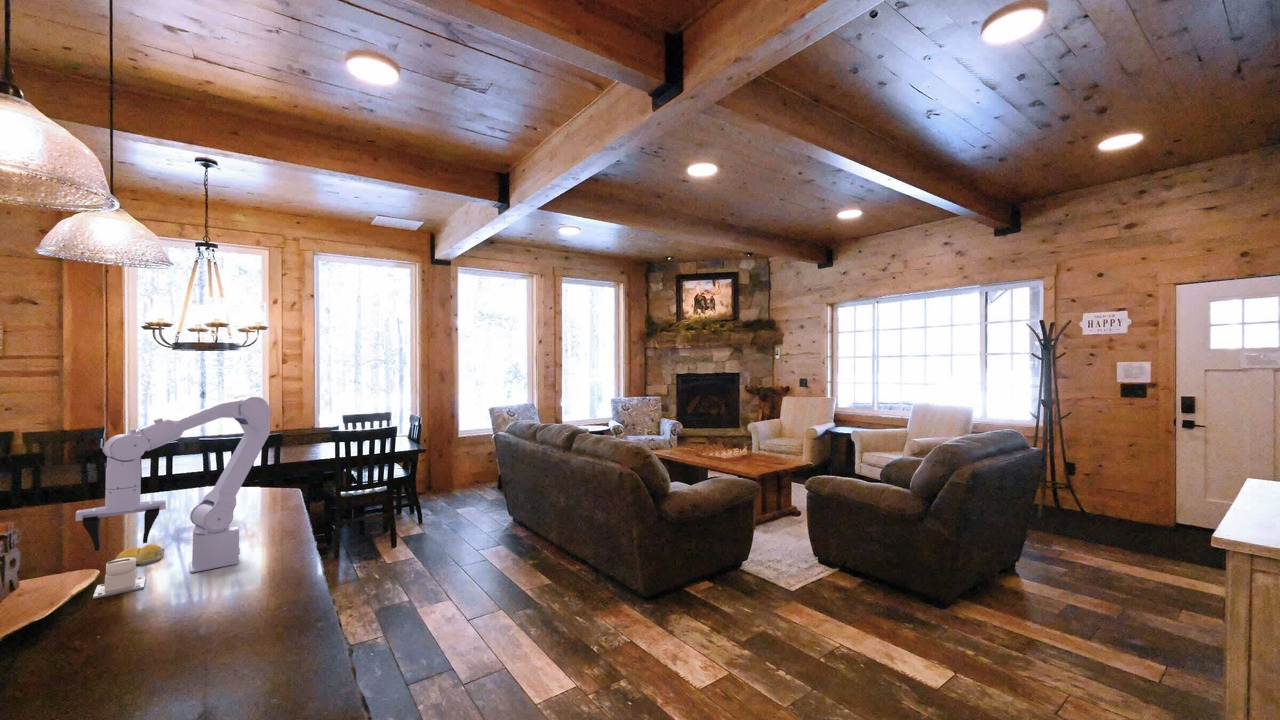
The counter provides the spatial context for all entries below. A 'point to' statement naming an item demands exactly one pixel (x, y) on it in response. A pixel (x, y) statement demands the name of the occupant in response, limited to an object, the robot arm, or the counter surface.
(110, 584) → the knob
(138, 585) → the plate
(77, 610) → the counter surface
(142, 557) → the bread roll
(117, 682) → the counter surface
